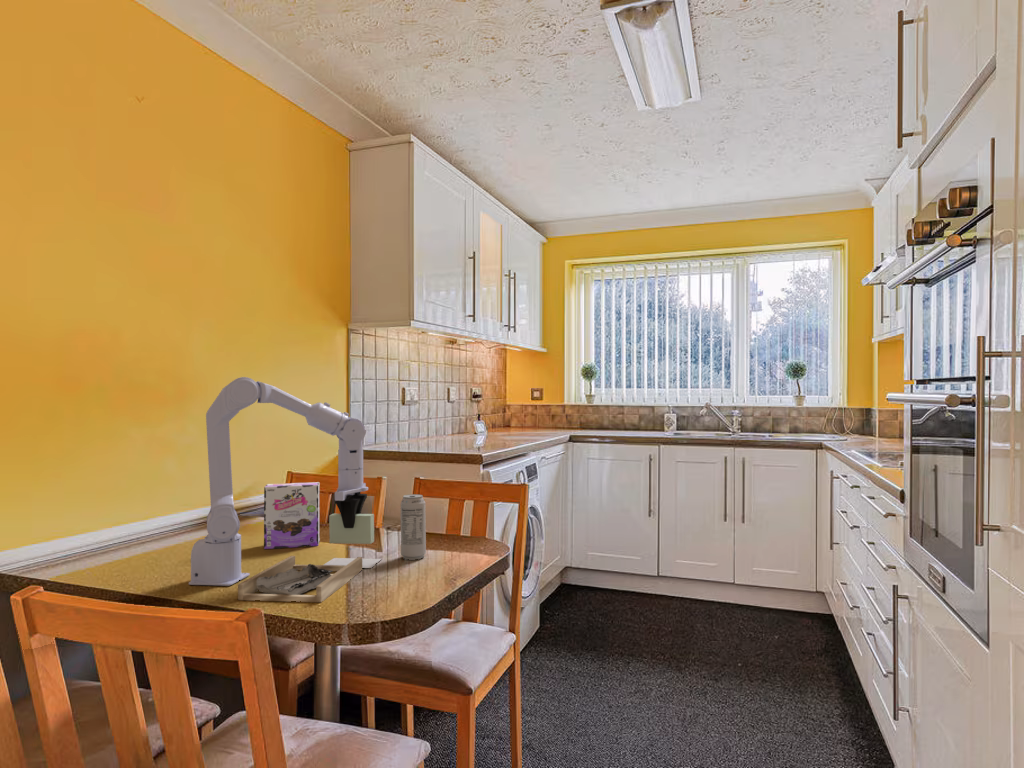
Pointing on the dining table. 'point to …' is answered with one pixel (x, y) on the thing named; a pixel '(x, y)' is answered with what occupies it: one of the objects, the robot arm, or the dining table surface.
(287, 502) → the candy box
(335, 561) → the light gray panel
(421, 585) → the dining table surface
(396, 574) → the dining table surface
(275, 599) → the birch rack
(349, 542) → the pale green block
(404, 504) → the energy drink can
